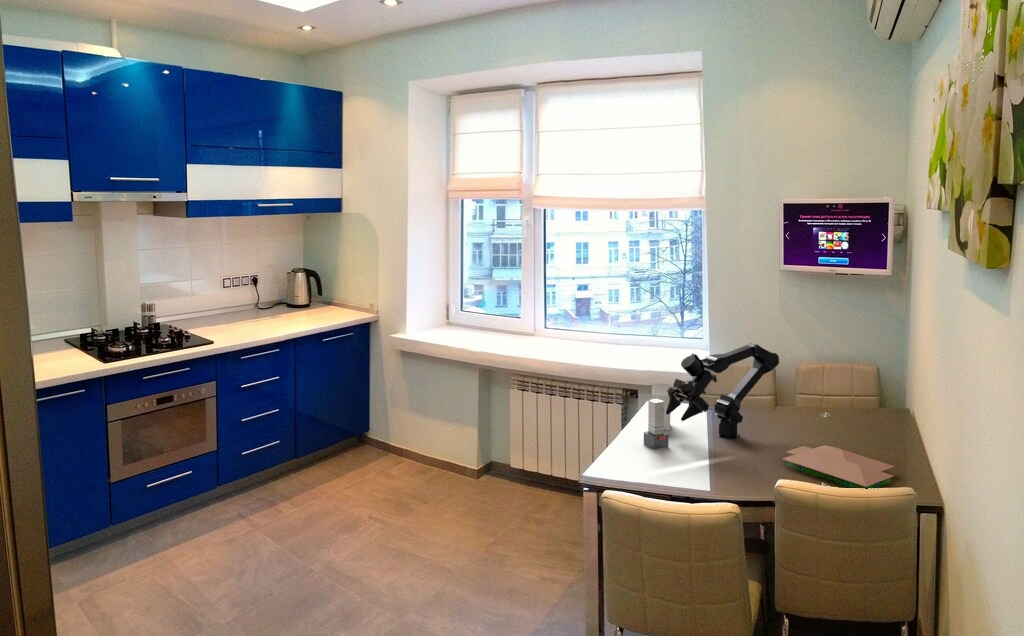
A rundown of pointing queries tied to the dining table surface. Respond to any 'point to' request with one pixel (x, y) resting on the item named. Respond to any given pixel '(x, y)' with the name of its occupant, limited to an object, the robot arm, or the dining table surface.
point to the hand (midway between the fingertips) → (674, 417)
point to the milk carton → (661, 393)
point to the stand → (656, 440)
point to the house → (840, 465)
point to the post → (656, 417)
